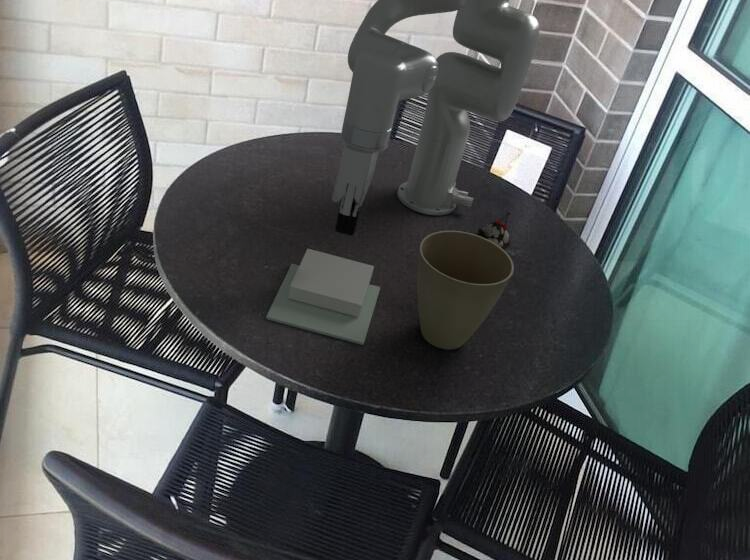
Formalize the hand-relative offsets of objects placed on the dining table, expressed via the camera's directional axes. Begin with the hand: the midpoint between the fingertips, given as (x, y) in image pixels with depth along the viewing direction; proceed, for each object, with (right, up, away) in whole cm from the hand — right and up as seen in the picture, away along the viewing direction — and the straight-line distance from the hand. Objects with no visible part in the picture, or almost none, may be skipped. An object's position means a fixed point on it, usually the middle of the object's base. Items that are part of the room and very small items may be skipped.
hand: (345, 231), depth 136 cm
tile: (-1, -5, +6) cm, 8 cm away
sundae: (+24, -9, +13) cm, 29 cm away
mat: (-3, -12, -1) cm, 13 cm away
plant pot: (+16, -17, -1) cm, 24 cm away
